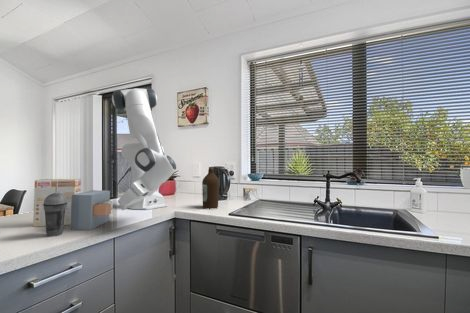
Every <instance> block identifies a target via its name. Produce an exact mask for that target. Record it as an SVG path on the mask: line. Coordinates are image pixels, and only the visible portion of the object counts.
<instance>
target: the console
mask: <svg viewBox="0 0 470 313" xmlns="http://www.w3.org/2000/svg"><path fill="white" fill-rule="evenodd" d="M110 193H111V190H94V189H93V190H88V191H83V192H81V193H78V194H73V195H72V203H71V225H70V230H71V231H77V230H79V231H80V230H81V231H87V230H88V231H91V230H93V229H95V228H97V227H99V226H101V225H103V224H105V223H107V222H109V221H110V214H108V215H93V205H95V204H103V202H104V201H111V194H110Z"/></svg>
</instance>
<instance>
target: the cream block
mask: <svg viewBox="0 0 470 313" xmlns="http://www.w3.org/2000/svg"><path fill="white" fill-rule="evenodd" d="M113 201H114V200H110V201H104V202H103V204H111V211H112V210H113Z"/></svg>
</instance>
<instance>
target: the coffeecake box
mask: <svg viewBox="0 0 470 313" xmlns="http://www.w3.org/2000/svg"><path fill="white" fill-rule="evenodd" d="M57 181H58V189H57V193H61V194H63V195H64V196H65V197H66V199H67V206H66V209H65V217H64V224H63V226H71V203H72V195H73V194H78V193H82V178H52V179H51V178H49V179H48V178H43V179H42V178H41V179H36V180H34V189H33V190H34V193H33V194H34V196H33V220H32V223H33V224H32V227H33V228H37V227H46V222H45V211H44V205H43V204H44V200H45V199H46V197H47V196H49V195H50V194H52V193H56V182H57Z"/></svg>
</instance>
